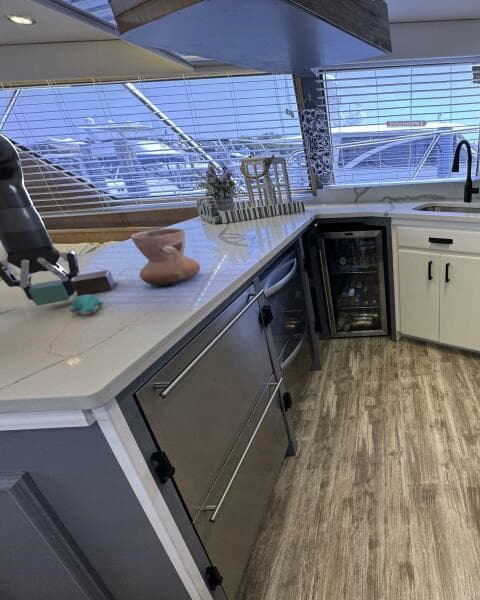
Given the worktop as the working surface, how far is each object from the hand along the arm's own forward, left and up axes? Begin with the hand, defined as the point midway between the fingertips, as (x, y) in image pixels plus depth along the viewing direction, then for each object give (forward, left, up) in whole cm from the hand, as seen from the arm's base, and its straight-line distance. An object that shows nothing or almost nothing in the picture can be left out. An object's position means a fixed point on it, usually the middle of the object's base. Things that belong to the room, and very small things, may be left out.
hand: (54, 297), depth 78 cm
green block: (0, 0, -1) cm, 1 cm away
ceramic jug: (+24, +3, -2) cm, 25 cm away
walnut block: (+6, +9, -2) cm, 11 cm away
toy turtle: (+7, -11, -2) cm, 13 cm away
